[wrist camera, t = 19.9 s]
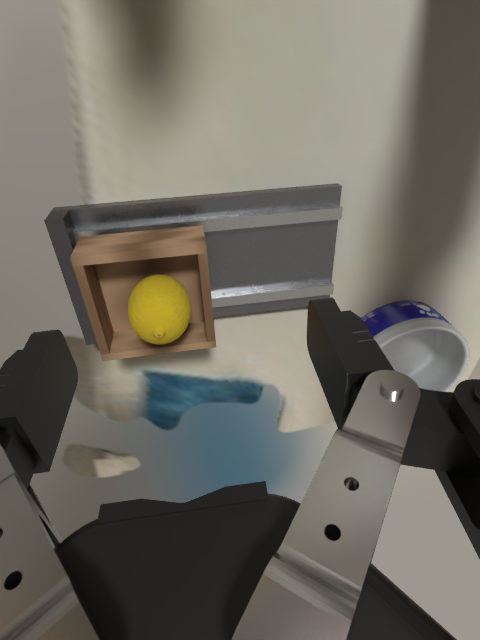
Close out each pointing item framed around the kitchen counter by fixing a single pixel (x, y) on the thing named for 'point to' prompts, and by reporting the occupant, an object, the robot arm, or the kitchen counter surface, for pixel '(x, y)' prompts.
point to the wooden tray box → (132, 267)
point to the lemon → (159, 309)
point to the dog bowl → (420, 343)
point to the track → (226, 243)
